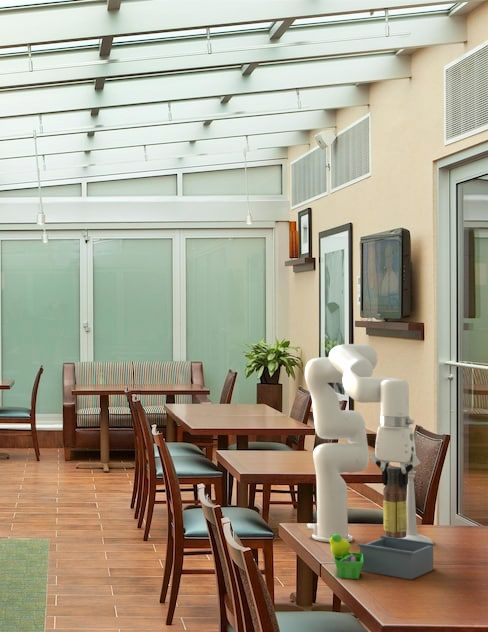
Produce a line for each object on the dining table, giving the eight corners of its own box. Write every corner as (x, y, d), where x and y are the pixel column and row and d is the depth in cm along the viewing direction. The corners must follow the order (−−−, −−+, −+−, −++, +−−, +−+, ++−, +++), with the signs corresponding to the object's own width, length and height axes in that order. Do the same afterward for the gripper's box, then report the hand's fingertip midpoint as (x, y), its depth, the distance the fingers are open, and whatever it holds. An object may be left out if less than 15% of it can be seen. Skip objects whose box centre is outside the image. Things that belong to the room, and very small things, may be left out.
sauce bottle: (405, 534, 278) (407, 466, 277) (407, 539, 272) (409, 469, 271) (381, 532, 280) (383, 464, 279) (382, 537, 274) (384, 468, 274)
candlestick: (437, 547, 304) (436, 452, 304) (394, 545, 306) (393, 451, 307) (427, 538, 316) (426, 447, 317) (386, 537, 319) (385, 446, 319)
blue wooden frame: (358, 570, 275) (357, 543, 275) (382, 560, 286) (382, 535, 286) (411, 580, 264) (411, 552, 264) (435, 569, 275) (434, 543, 275)
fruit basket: (363, 580, 263) (363, 539, 263) (329, 578, 266) (329, 537, 267) (362, 571, 274) (362, 531, 274) (330, 568, 277) (329, 529, 277)
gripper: (429, 423, 272) (430, 487, 272) (371, 419, 284) (372, 480, 284) (419, 425, 267) (419, 491, 267) (360, 421, 279) (360, 483, 279)
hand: (394, 485), depth 276 cm, fingers closed on sauce bottle, 4 cm apart
